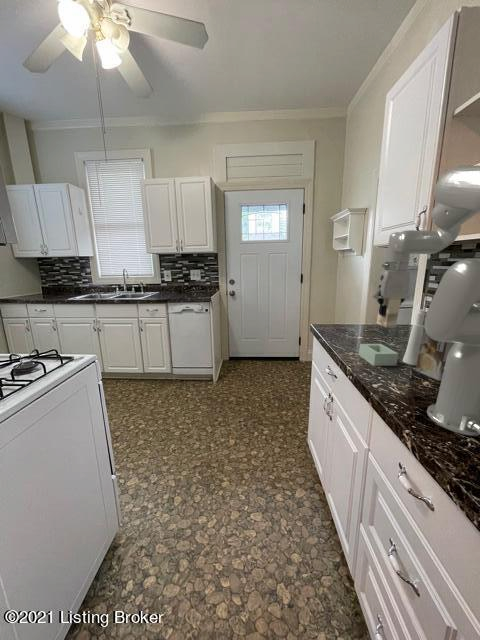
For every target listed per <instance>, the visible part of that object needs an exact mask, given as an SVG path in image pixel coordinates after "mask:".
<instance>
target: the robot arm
mask: <svg viewBox="0 0 480 640" xmlns="http://www.w3.org/2000/svg"><path fill="white" fill-rule="evenodd" d="M433 198H434V199H435V200H434V201H435V202H436V203H437V204H436V205H434V206H433V208H432V211H431V220H432V221H433V223H434V225H435V226H437V229H435V230H422V229H421V230H419V229H418V230H415V229H414V230H411V229H410V230H403V231H400V232H399V231H398V232H392V233H391V234H390V235H389V238H388V243H387V250H386V257H385V262H384V263H383V264H381V267H382V268H383V270H382V271H381V274H380V276H379V280H378V284H377V287H376V288H377V289H376V291H375V293H374V294H373V295H372V298H373V299H374V300H375V301H376V302H377V303H378V305H379V306H380V307H379V306H378V312H379V315H382V316H385V314H386V308H387V306H385V305H386V302H387V300H388V298H391V296H396V297H401V301H400V306H402V304H403V303H404V302H405V301H406V300H408V299H409V298H410V296H409V291H410V283H411V282H410V281H411V279H410V275H411V274H410V271H408V270H409V263H410V259H411V255H432V254H433V255H434V254H436V253H439V252H441V251H442V250H444V249H445V248H447V247H449V246H450V245H452V244H453V243H454V242H455V241H456V240H457V238H458V237H459V234H460V232H461V228H462V225H463V224H465V223H466V222H467V221H468V220H470V219H472V218H473V217H474V216H476V215H478V214H479V213H480V165H470V164H469V165H468V164H467V165H465V164H463V165H457V166H456V165H455V166H453V167H452V168H450V169H448V170H446V171H445V172H444V173H443V174H442V176H441V177H440V178H439V179H438V180H437V182H436V183H435V186H434V190H433ZM423 325H424V331H426V333H427V335H428V336H429V337H430V338H431V339H433V340H435V341H439V342H448V343H455V344H454V345H453V346H452V348H451V349H450V351H449V353H448V355H447V359H446V363H445V368H444V372H443V376H442V380H441V381H440V386H439V390H438V394H437V398H436V402H435V404H431V405H429V406H428V407H427V410H426V413H427V417H429V418H430V419H431V420H432V421H433V422H434V423H435V424H437V425H439V426H440V427H442V428H444V429H446V430H449V431H452V432H455V433H456V434H457V433H458V434H461V435H464V436H469V437H472V436H473V437H479V436H478V435H480V258H479V257H477V258H465V259H461V260H459V261H456V262H455V263H453V264H452V265H451V266H449V268H448V269H447V270H446V271H445V272H444V274H443V275H442V277H441V279H440V281H439V284H438V286H437V289H436V291H435V293H434V294H433V297H432V300H431V302H430V305H429V306H428V309H427V311H426V313H425V316H424V321H423Z"/></svg>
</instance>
